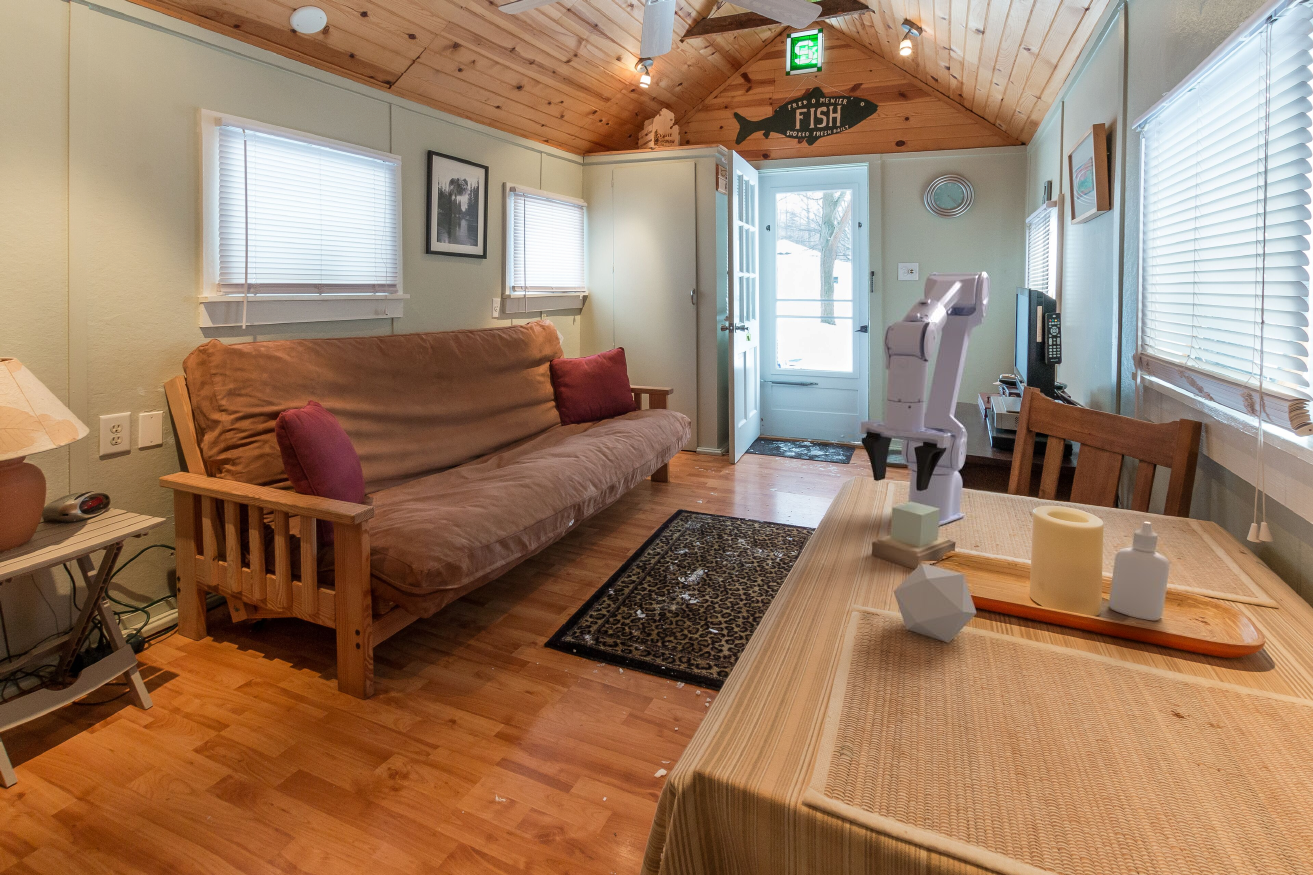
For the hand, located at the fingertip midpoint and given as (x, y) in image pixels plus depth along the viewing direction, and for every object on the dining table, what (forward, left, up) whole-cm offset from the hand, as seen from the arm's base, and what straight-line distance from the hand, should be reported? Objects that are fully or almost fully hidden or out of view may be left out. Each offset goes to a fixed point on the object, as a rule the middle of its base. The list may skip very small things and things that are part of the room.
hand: (900, 484), depth 114 cm
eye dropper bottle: (-2, +34, -10) cm, 35 cm away
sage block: (+2, +5, -7) cm, 9 cm away
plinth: (+2, +5, -10) cm, 11 cm away
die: (+23, +21, -10) cm, 33 cm away
